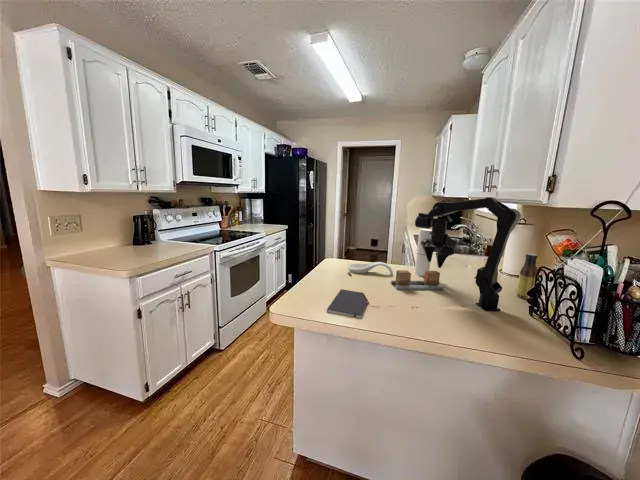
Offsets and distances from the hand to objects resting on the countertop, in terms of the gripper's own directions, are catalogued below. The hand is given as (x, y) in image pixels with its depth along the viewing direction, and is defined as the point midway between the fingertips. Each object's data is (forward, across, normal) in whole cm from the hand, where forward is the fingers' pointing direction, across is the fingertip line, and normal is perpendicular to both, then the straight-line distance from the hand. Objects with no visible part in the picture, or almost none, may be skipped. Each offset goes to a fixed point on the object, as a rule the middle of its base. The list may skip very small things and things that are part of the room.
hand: (434, 264), depth 125 cm
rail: (+12, 0, +7) cm, 14 cm away
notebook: (+13, -15, +41) cm, 45 cm away
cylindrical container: (+12, +18, -4) cm, 22 cm away
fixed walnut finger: (+10, 0, +14) cm, 18 cm away
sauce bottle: (+12, -9, -39) cm, 42 cm away
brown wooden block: (+10, 0, 0) cm, 10 cm away
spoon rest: (+12, +21, +23) cm, 34 cm away
